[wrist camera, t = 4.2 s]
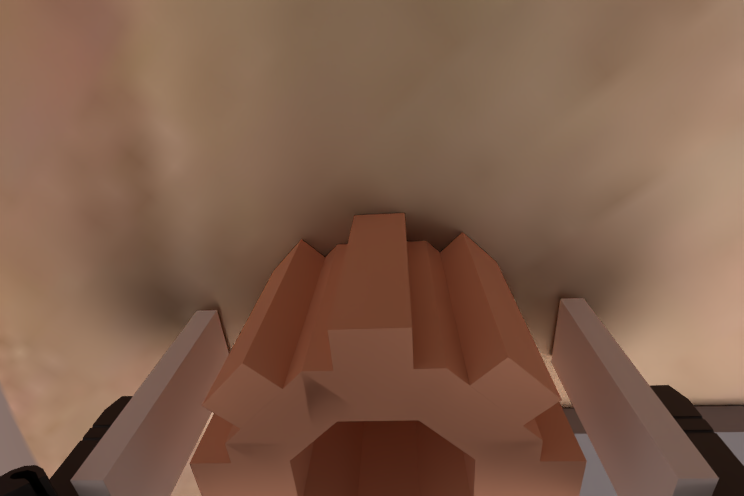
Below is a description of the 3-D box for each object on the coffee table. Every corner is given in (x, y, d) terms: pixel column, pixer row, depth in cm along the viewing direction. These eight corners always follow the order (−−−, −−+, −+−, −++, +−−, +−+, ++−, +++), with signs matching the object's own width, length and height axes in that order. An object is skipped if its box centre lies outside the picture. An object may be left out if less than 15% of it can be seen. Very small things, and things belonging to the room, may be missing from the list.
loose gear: (241, 220, 14) (141, 335, 8) (524, 206, 13) (617, 321, 8) (285, 421, 18) (236, 588, 12) (505, 418, 17) (557, 593, 11)
